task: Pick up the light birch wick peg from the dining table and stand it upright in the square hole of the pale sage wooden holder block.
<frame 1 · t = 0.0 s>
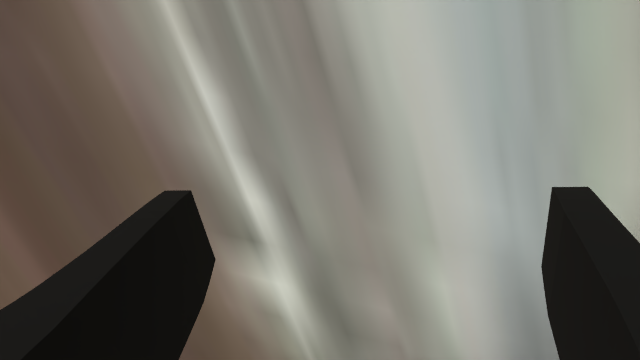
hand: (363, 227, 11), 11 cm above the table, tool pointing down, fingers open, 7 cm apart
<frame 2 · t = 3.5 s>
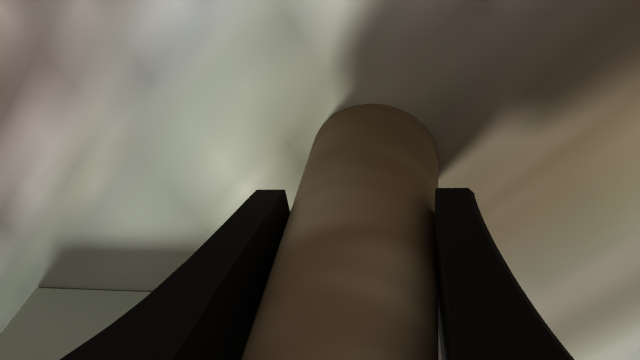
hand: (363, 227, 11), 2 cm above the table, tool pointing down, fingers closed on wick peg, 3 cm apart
wick peg: (373, 159, 13), on the table, touching gripper
when the fingers open (4 cm above the table, at t = 7.2 s): wick peg drops 1 cm, resting in wick holder.
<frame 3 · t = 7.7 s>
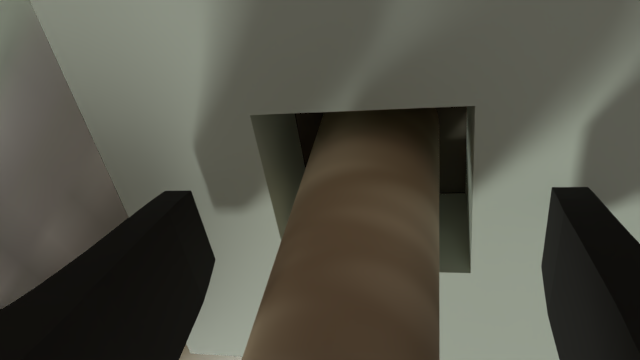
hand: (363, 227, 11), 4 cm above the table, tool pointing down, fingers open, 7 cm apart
wick peg: (380, 126, 14), resting in wick holder
wick holder: (379, 127, 14), on the table
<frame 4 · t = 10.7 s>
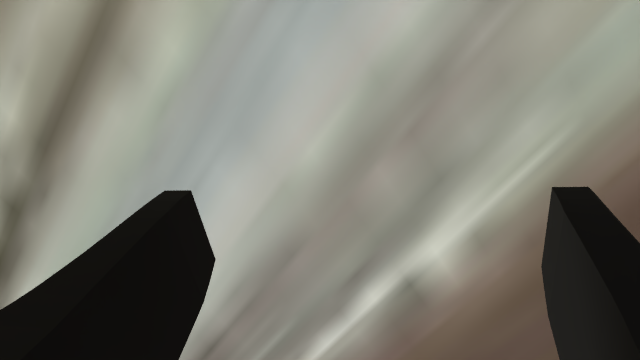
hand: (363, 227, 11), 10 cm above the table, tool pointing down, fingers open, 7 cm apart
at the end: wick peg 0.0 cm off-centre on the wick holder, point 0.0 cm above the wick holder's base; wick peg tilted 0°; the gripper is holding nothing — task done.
